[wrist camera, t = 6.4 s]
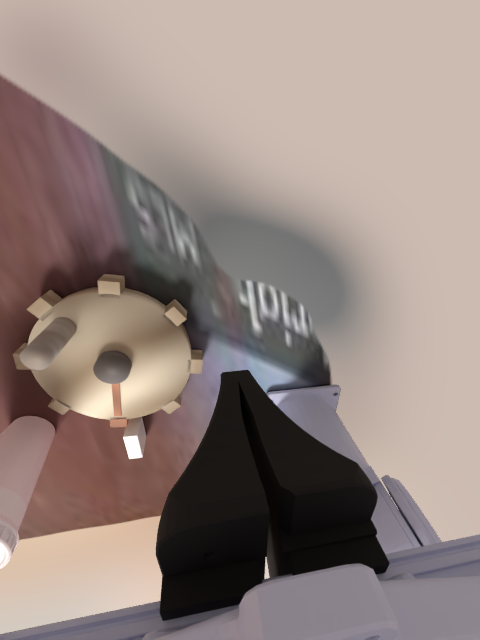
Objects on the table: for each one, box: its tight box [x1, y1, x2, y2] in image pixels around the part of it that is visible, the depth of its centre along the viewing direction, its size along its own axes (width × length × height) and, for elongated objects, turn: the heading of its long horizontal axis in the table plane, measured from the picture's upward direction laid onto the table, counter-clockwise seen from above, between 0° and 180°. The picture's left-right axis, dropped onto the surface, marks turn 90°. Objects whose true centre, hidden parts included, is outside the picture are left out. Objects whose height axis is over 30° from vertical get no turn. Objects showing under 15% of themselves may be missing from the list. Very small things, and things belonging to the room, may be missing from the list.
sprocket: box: [13, 274, 203, 427], centre depth 20 cm, size 14×14×6 cm
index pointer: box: [123, 417, 146, 459], centre depth 26 cm, size 3×1×2 cm, turn 0°
